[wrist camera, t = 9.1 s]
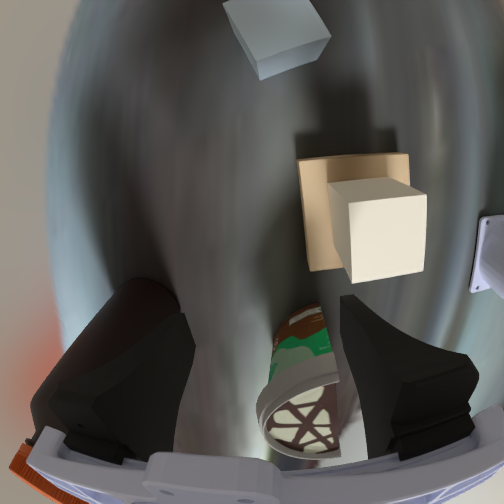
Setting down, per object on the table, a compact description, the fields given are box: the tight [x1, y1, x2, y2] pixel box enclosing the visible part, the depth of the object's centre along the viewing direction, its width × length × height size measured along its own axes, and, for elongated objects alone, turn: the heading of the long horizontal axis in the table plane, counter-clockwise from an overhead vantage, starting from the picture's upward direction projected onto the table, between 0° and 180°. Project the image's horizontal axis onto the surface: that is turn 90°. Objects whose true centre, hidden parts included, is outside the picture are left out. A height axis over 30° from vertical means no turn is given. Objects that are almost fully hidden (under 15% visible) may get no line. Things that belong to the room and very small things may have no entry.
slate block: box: [222, 0, 331, 80], centre depth 14 cm, size 4×4×6 cm
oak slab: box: [296, 152, 410, 272], centre depth 20 cm, size 8×8×2 cm
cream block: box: [327, 177, 427, 283], centre depth 16 cm, size 4×4×6 cm
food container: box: [256, 302, 341, 459], centre depth 22 cm, size 12×6×10 cm, turn 14°
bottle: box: [9, 279, 180, 504], centre depth 16 cm, size 7×7×20 cm
